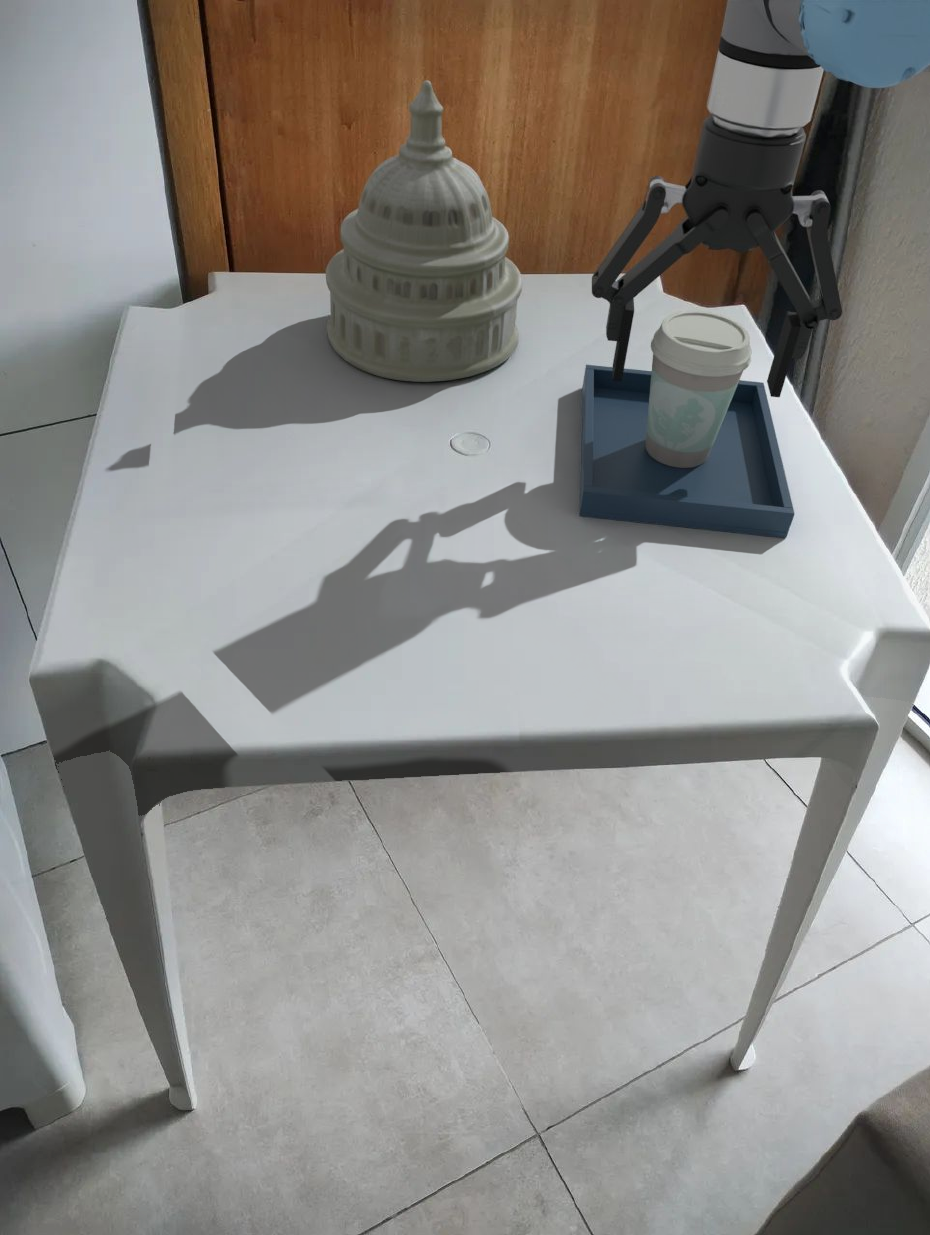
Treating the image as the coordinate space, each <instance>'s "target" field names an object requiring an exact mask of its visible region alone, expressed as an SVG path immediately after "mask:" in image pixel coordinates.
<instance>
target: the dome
mask: <svg viewBox="0 0 930 1235" xmlns="http://www.w3.org/2000/svg"><path fill="white" fill-rule="evenodd" d="M408 110H409V112H410V132H409V135H408V136H407V138H406V142H405V143H403V144H402V145H400V146H399V151H398V154H396V155H394V156H391V157H389V158H387V159H386V160H384V161H383V162H381V163H380V164H379V165H378V166H376V168H375V169H374V171H373V172H372V173H371V174H370V176H369V177H368V179H367V181H366V183H365V185H364V187H363V189H362V192H361V195H360V199H359V201H358V202H359V203H358V207H357V208H356V209H354V210H353V211H352V212H350V213H349V214H347V215H346V216H345V217H344V219H343V220H342V221H341V225H340V232H339V234H340V241H341V244H342V245H343V248H342V249H340V250H339V251H338V252H336V253H335V254H334V255H333V256H332V257H331V259H330V260H329V262H328V263H327V266H326V268H325V282H326V286H327V288H328V290H329V295H330V296H329V297H330V299H329V300H330V316H329V318H328V319H327V323H326V333H327V338H328V341H329V344H330V345H331V347H332V349H333V350H334V352H335V353H336V354H337V355H338V356H339V357H341V359H342V360H344V361H345V362H347V363H348V364H350V365H351V366H353V367H355V368H357V369H359V370H361V371H363V372H366V373H368V374H371V375H374V376H377V377H381V378H384V379H389V380H396V381H403V382H415V383H416V382H417V383H433V382H444V381H454V380H458V379H465V378H468V377H469V378H470V377H473V376H478V375H479V374H482V373H484V372H488V371H489V370H492V369H494V368H496V367H498V366H500V365H502V363H504V362H506V361H507V360H508V359H509V358H510V357H511V356H512V355H513V354H514V353H515V352H516V349H517V347H518V344H519V330H518V327H517V324H516V322H517V310H518V300H519V298H520V297H521V294H522V292H523V276H522V274H521V271H520V270H519V268H518V267H517V265H516V264H515V263H514V262H513V261H512V260H511V259H509V258H508V257H506V255H507V253H508V249H509V242H510V241H509V240H510V235H509V232H508V230H507V228H506V227H505V225H504V224H503V223H502V222H500V221H499V220H498V219H496V217H494V216H493V212H492V207H491V202H490V198H489V195H488V192H487V190H486V188H485V187H484V185H483V182H482V180H481V179H480V176H479V175H478V173H477V172H476V171H475V170H474V169H473V167H471V166H470V165H468V164H467V163H465V162H463V161H460V160H459V159H458V158H456V157H453V151H452V149H451V148H450V147H449V146H446V140H445V138H444V137H443V120H442V119H443V118H442V117H443V112H444V106H442V104H441V103H440V101H439V100H438V97H437V96H436V94H435V91H434V88H433V84H432V82H431V81H430V80H424V81H423V82H422V83H421V87H420V89H419V92H418V93H417V94H416V96H415V98H414V100H412V101H411V102H410V103H409V105H408Z"/></svg>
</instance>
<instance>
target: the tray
mask: <svg viewBox="0 0 930 1235" xmlns="http://www.w3.org/2000/svg"><path fill="white" fill-rule="evenodd" d="M651 372H652V370H643V369H633V368H625V367H624V371H623V377H622V382H618V381H613V366H604V365H596V364H595V365H593V364H585V368H584V374H583V380H582V388H581V389H582V390H581V422H580V423H581V424H580V425H581V427H580V428H581V430H580V464H579V465H580V466H579V467H580V468H579V505H578V506H579V508H578V510H579V512H578V516H579V517H585V518H595V519H604V520H614V521H622V522H632V523H641V524H652V525H659V526H660V525H661V526H670V527H679V528H690V529H698V530H707V531H708V530H709V531H716V532H724V533H725V532H726V533H735V534H745V535H752V536H753V535H754V536H763V537H764V536H765V537H773V538H782V539H787V537H788V534H789V531H790V528H791V525H792V523H793V520H794V517H795V509H794V506H793V505H794V504H793V501H792V498H791V493H790V489H789V485H788V480H787V476H786V472H785V467H784V463H783V458H782V454H781V451H780V447H779V442H778V438H777V434H776V430H775V425H774V421H773V417H772V412H771V409H770V405H769V400H768V395H767V392H766V391H767V390H766V387H765V383H764V382H763V381H750V380H741V379H740V380H739V383H738V385H737V388H736V390H735V392H734V395H733V397H732V400H731V402H730V405H729V407H728V410H727V412H726V414H725V417H724V419H723V422H722V424H721V427H720V429H719V432H718V434H717V437H716V439H715V441H714V444H713V446H712V449H711V451H710V453H709V456H708V458H707V460H706V461H705V462H704V463H702V464H701V465H698V466H695V467H690V468H678V467H672V466H668V465H665V464H662V463H660V462H658V461H657V460H655V459H654V458H652V457H651V456H650V455H649V453H648V452H647V450H646V433H647V421H648V409H649V396H650V384H651Z"/></svg>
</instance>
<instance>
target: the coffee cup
mask: <svg viewBox="0 0 930 1235" xmlns="http://www.w3.org/2000/svg"><path fill="white" fill-rule="evenodd" d="M650 350H651V352H652V363H651V371H652V372H651V384H650V396H649V409H648V421H647V433H646V450H647V452H648V453H649V455H650V456H651V457H652V458H654V459H655V460H657V461H658V462H660V463H662V464H665V465H668V466H672V467H678V468H690V467H695V466H698V465H701V464H702V463H704V462H705V461H706V460H707V458H708V456H709V453H710V451H711V449H712V446H713V444H714V441H715V439H716V437H717V434H718V432H719V429H720V427H721V424H722V422H723V419H724V417H725V414H726V412H727V410H728V407H729V405H730V402H731V400H732V397H733V395H734V392H735V390H736V388H737V385H738V383H739V380H741V378H742V375H743V372H744V371H745V370H746V369H747V368H748V367H749V366H750V365H751V362H752V354H753V353H752V352H753V351H752V347H751V335H750V333H749V331H748V330H747V328H745V327H744V325H743V324H741V323H739V322H738V321H736V320H735V319H732V318H730V317H728V316H725V315H722V314H719V313H715V312H710V311H704V310H685V311H678V312H675V313H672V314H669V315H668V316H666V317H665V318H664V319H663V320H662V322H661V324H660V326H659V328H658V329H657V330H656V331H655V333H654V334H653V338H652V339H651V342H650Z"/></svg>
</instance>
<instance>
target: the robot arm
mask: <svg viewBox="0 0 930 1235" xmlns="http://www.w3.org/2000/svg"><path fill="white" fill-rule="evenodd" d="M824 72H825V73H831V74H832V75H833V77H834V78H836V79H839V80H842V81H845V82H851V83H853V84H856V85H857V86H861V87H863V88H864V87H865V88H871V89H884V88H890V87H893V86H896V85H898V84H899V83H902V82H905V81H907V80H908V79H910V78H911V77H914V76H916V75H919V74H920V73H930V0H727V2H726V7H725V13H724V18H723V23H722V29H721V34H720V39H719V44H718V50H717V53H716V59H715V64H714V69H713V74H712V77H711V83H710V87H709V93H708V97H707V101H706V108H707V110H708V112H709V114H710V115H708V116H707V117H706V118H704V120H703V121H702V125H701V130H700V135H699V139H698V140H699V141H698V144H697V150H696V155H695V160H694V165H693V170H692V173H691V177H690V179H689V180H688V182H687V183H686V184H685V185H680V184H675V183H670V182H666V181H665V179H664V178H663V176H662V175H654V176H652V177H651V178H649V181H648V184H647V187H646V191H645V194H644V197H643V202H642V204H641V205H640V207H639V208H638V210H637V211H636V213H635V214H634V215H633V217H632V218H631V219H630V221H629V222H628V224H627V225H626V227H625V228H624V230H623V231H622V233H621V234H620V235H619V237H618V238H617V240H616V241H615V243H614V244H613V246H612V247H611V248H610V249H609V251H608V253H607V254H606V256H605V257H604V258H603V260H602V262H601V263H600V265H598V267H597V269H596V270H595V272H594V273H593V275H592V277H591V295H592V296H593V297H594V298H596V299H601V298H602V299H603V300H606V301H607V302H608V304H609V308H608V313H607V320H606V325H605V335H606V339H607V341H610V342H616V344H615V349H614V355H613V362H612V367H613V381H618V382H622V377H623V371H624V368H625V364H626V359H627V354H628V348H629V343H630V337H631V333H632V332H631V331H632V327H633V321H634V315H635V298H636V297H637V296H638V295H639V294H640V293H642V291H644V290H645V289H646V288H647V287H648V286H650V285H651V284H652V283H653V282H654V281H655V280H656V279H657V278H659V277H660V276H661V275H663V274H664V272H666V271H667V270H668V269H669V268H671V266H672V265H674V264H675V263H677V262H678V261H679V260H680V259H681V258H682V257H684V255H688V254H690V253H692V252H693V250H695V249H696V248H697V247H698V246H700V245H701V244H702V245H703V246H705V247H706V248H707V250H710V251H711V250H713V251H722V250H731V251H734V252H736V253H743V254H748V253H749V251H752V250H754V249H756V248H758V247H759V248H760V250H761V252H762V253H763V255H764V257H765V258H766V260H767V262H768V263H769V265H770V267H771V269H772V270H773V272H774V274H775V275H776V278H777V279H778V281H779V283H780V285H781V286H782V288H783V290H784V292H785V294H786V295H787V297H788V299H789V301H790V302H791V305H792V306H793V308H794V309H795V311H786V314H785V316H784V321H783V325H782V328H781V332H780V335H779V337H778V341H777V344H776V348H775V352H774V356H773V359H772V361H771V362H772V363H771V366H770V369H769V372H768V376H767V380H766V383H767V387H768V391H769V396H770V397H771V398H780V397H781V394H782V391H783V388H784V385H785V382H786V378H787V374H788V371H789V368H790V364H791V361H792V359H795V360H796V359H797V360H802V358H803V357H804V356H805V355H806V352H807V348H808V345H809V342H810V339H811V335H812V332H813V330H815V329H816V328H818V326H819V325H820V321H824V320H830V321H837V320H839V319H840V318H841V317H842V316H843V307H842V303H841V297H840V292H839V287H838V282H837V277H836V272H835V267H834V262H833V256H832V250H831V245H830V241H829V235H828V228H829V221H830V216H831V211H832V205H831V203H830V202H829V199H828V197H827V195H826V193H825V192H824V191H823V190H820V189H818V190H815V191H812V193H811V194H810V195H793V187H794V183H795V180H796V177H797V172H798V168H799V165H800V161H801V158H802V154H803V149H804V147H805V143H806V138H807V133H806V131H805V129H804V128H803V127H805V126H806V125H808V123H810V122H811V120H812V117H813V113H814V109H815V105H816V102H817V98H818V94H819V90H820V85H821V82H822V78H823V74H824ZM678 204H681V205H682V209H684V212H685V214H686V217H685V218H684V219H682V221H680V222H679V223H678V224H677V225H676V226H675V228H674V230H672V232H671V233H670V234H669V235H668V236H667V237H665V238H664V239H663V240H662V241H661V242H660V243H659V244H658V245H656V246H655V247H654V248H653V249H652V250H650V251H649V252H648V253H647V254H646V255H645V256H643V257H642V259H640V260H639V261H638V262H637V263H636V264H635V265H633V266H632V267H631V268H630V269H629V270H628V271H627V272H625V273H624V274H623V275H622V276H621V277H620V278H619V276H620V275H621V274H622V272H623V271H624V269H625V268H626V267H627V265H628V264H629V263H630V261H631V259H632V258H633V257H634V255H635V254H636V252H638V250H639V248H640V247H641V246H642V245H643V243H644V241H645V240H646V239H647V237H648V235H649V234H650V233H651V232H652V230H653V229H654V227H655V226H656V224H657V222H658V220H659V219H660V215H666V214H668V213H669V212H670V211H671V210H672V208H673V207H674V206H675V205H678ZM793 214H794V215H797V218H798V221H799V224H800V226H801V227H803V228H806V233H807V239H808V243H809V248H810V252H811V258H812V262H813V267H814V272H815V276H816V277H815V278H816V282H817V285H818V292H819V295H820V298H816V299H813V300H812V298H811V297H810V296H809V294H808V292H807V290H806V288H805V286H804V284H803V283H802V281H801V279H800V277H799V275H798V272H796V270H795V267H794V266H793V264H792V263H791V261H790V258H789V257H788V255H787V253H786V251H785V249H784V247H783V246H782V244H781V242H780V240H779V238H778V236H777V234H776V231H777V230H778V229H779V228H780V227H781V226H782V225H783V224H784V223H785V222H786V221H787V220H788V219H789V218H790V217H791V216H792V215H793ZM618 278H619V279H618ZM617 279H618V280H617ZM616 280H617V281H616Z"/></svg>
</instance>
